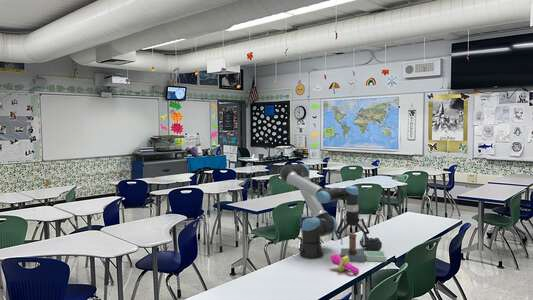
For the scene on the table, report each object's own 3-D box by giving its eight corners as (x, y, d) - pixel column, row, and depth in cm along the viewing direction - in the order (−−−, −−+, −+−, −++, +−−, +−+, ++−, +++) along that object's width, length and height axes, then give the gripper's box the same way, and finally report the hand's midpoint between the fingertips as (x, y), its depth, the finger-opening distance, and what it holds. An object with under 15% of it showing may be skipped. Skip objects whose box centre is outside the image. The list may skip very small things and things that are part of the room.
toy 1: (350, 279, 229) (358, 262, 230) (323, 263, 240) (331, 247, 241) (356, 280, 237) (364, 264, 238) (330, 265, 248) (337, 249, 249)
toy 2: (365, 234, 284) (383, 238, 272) (365, 246, 285) (383, 251, 273) (357, 236, 279) (375, 241, 267) (357, 249, 280) (375, 254, 268)
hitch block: (341, 261, 255) (341, 255, 255) (341, 254, 269) (341, 248, 269) (364, 262, 253) (364, 256, 253) (363, 255, 267) (363, 249, 267)
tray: (366, 261, 255) (366, 256, 255) (365, 256, 265) (365, 251, 265) (386, 262, 253) (386, 256, 253) (384, 256, 263) (384, 251, 263)
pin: (348, 259, 259) (348, 235, 258) (348, 256, 264) (348, 233, 263) (356, 259, 258) (356, 236, 257) (356, 257, 263) (356, 233, 262)
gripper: (332, 212, 257) (332, 245, 259) (373, 212, 253) (373, 246, 255) (332, 209, 265) (332, 242, 266) (372, 209, 261) (372, 243, 262)
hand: (352, 244), depth 260 cm, fingers open, 13 cm apart
